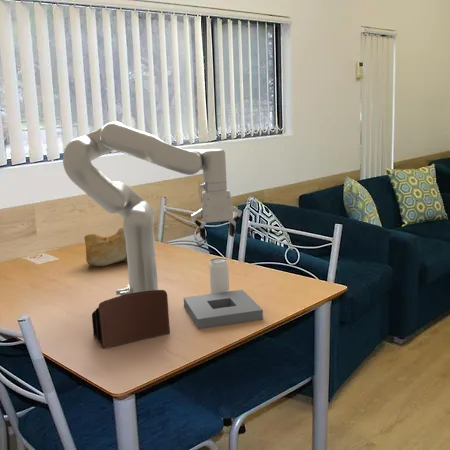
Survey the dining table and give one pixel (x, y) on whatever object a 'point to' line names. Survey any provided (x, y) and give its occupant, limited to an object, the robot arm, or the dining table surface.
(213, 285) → the can
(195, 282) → the dining table surface
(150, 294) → the letter holder
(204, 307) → the socket block
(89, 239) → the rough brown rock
